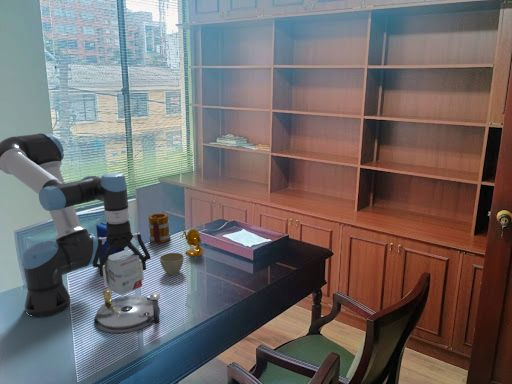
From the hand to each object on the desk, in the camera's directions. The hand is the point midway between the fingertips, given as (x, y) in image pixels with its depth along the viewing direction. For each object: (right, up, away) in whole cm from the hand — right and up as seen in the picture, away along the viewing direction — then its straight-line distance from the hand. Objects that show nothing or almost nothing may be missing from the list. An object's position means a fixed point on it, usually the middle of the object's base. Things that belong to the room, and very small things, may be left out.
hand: (124, 281), depth 150 cm
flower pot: (+10, -4, +37) cm, 38 cm away
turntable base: (0, -13, +3) cm, 13 cm away
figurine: (+16, +2, +58) cm, 60 cm away
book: (-18, -3, +43) cm, 46 cm away
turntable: (0, -13, +3) cm, 13 cm away
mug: (-4, +5, +74) cm, 74 cm away
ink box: (0, -2, +1) cm, 2 cm away
